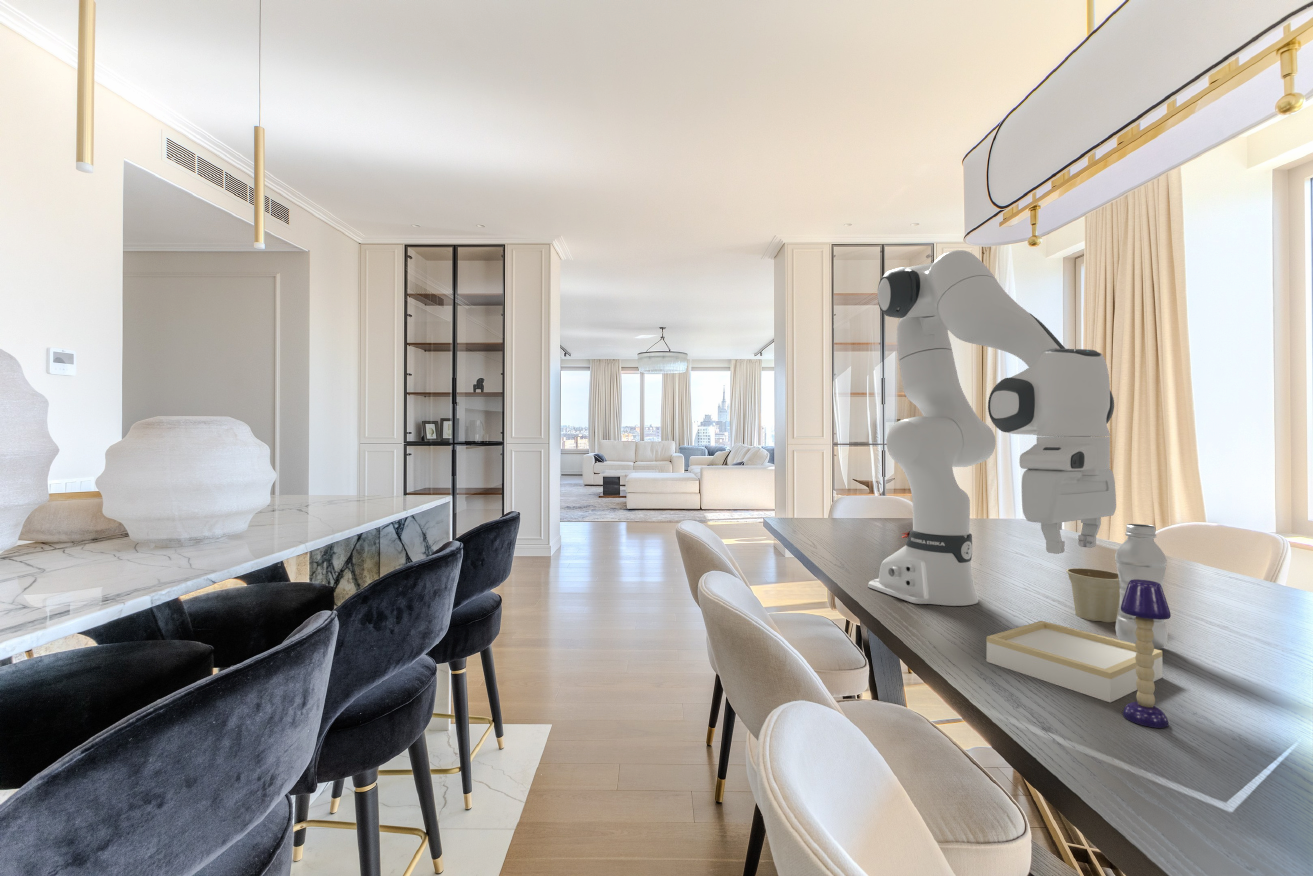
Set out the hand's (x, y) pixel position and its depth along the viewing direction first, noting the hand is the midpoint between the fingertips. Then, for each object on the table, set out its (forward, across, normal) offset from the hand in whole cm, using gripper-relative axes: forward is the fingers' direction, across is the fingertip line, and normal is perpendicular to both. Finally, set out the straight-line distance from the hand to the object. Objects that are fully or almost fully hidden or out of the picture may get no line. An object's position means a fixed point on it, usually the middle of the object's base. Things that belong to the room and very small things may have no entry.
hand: (1071, 550), depth 86 cm
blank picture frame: (+18, 0, 0) cm, 18 cm away
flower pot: (+18, -32, -10) cm, 38 cm away
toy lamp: (+18, +10, +12) cm, 24 cm away
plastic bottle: (+18, -20, +1) cm, 27 cm away
